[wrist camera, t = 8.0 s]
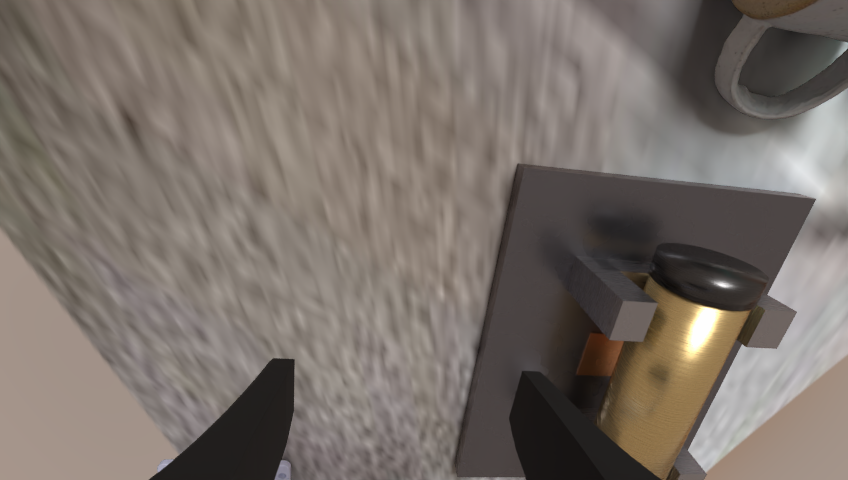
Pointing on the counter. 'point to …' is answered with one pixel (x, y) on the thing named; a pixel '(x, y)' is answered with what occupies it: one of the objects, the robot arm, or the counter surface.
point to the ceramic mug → (795, 11)
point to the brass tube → (677, 351)
